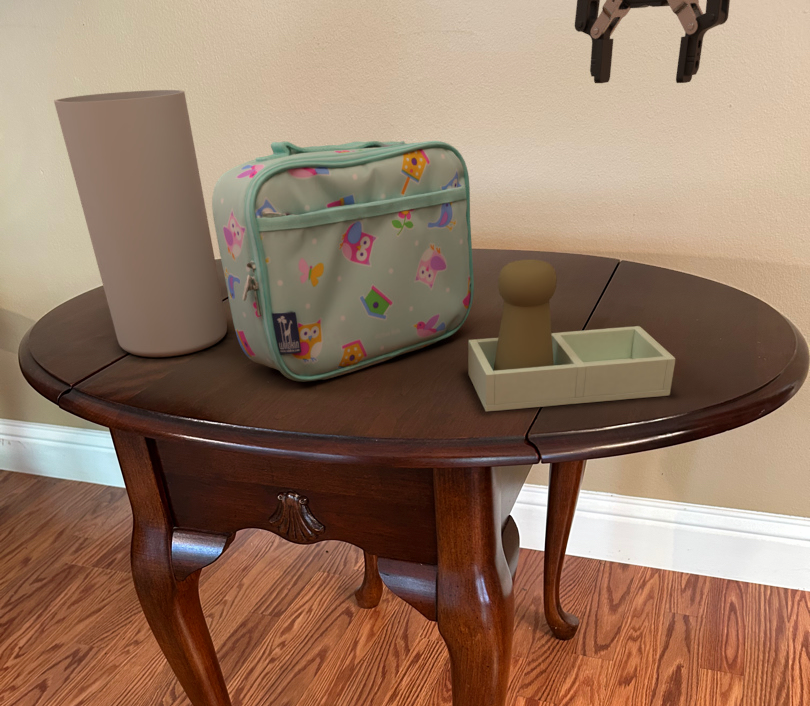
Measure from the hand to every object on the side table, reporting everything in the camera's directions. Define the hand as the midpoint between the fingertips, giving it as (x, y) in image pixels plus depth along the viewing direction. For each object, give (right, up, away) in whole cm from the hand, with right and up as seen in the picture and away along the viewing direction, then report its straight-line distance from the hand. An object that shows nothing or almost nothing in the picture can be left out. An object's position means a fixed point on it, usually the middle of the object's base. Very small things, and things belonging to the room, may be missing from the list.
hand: (641, 82), depth 75 cm
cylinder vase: (-50, -22, +15) cm, 57 cm away
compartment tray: (-8, -30, -1) cm, 31 cm away
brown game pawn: (-12, -30, -2) cm, 32 cm away
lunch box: (-28, -25, +8) cm, 39 cm away
